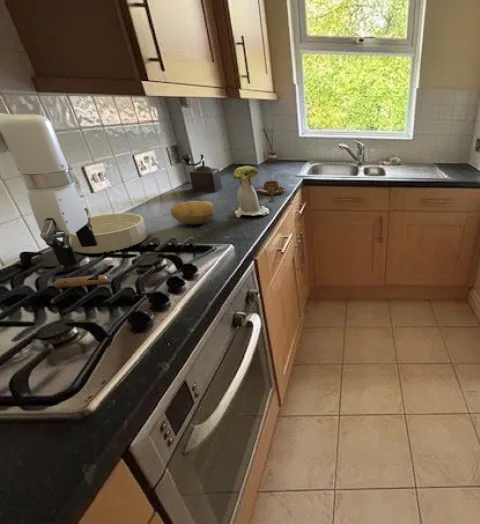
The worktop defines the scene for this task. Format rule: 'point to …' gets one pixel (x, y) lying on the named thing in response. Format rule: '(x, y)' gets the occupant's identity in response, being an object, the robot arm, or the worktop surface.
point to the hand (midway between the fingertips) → (80, 254)
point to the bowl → (113, 233)
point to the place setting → (272, 189)
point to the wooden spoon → (79, 281)
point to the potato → (193, 212)
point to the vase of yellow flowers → (248, 192)
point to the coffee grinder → (203, 176)
